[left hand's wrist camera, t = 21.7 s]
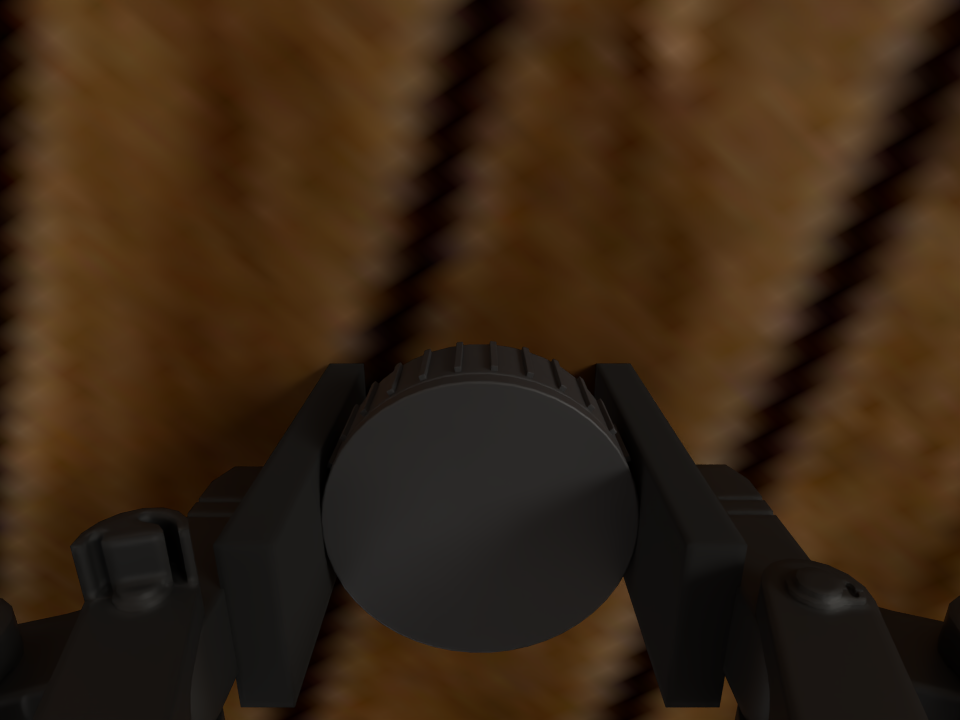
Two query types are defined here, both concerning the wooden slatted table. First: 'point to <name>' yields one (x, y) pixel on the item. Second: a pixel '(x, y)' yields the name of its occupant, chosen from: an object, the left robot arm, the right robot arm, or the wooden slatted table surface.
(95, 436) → the wooden slatted table surface
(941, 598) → the wooden slatted table surface
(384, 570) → the lid
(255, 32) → the wooden slatted table surface
